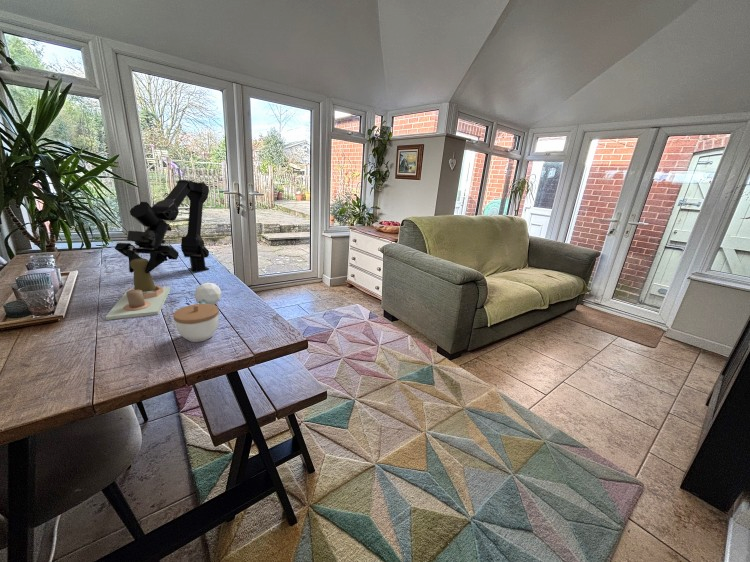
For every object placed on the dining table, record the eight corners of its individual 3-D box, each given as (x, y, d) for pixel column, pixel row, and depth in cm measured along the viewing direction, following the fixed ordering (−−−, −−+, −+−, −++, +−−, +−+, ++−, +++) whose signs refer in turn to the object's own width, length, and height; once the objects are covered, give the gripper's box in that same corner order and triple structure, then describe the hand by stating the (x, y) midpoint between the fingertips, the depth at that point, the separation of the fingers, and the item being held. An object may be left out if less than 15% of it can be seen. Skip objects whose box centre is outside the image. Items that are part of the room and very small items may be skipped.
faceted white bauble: (227, 289, 108) (223, 307, 98) (209, 302, 108) (202, 321, 98) (211, 274, 104) (204, 290, 93) (191, 287, 104) (182, 305, 94)
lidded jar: (227, 338, 84) (223, 307, 81) (183, 351, 77) (177, 318, 74) (214, 323, 91) (210, 295, 88) (173, 334, 84) (167, 304, 81)
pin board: (128, 292, 109) (124, 276, 107) (170, 289, 114) (168, 274, 112) (106, 319, 89) (101, 301, 87) (158, 314, 95) (155, 296, 93)
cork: (131, 292, 102) (123, 261, 99) (139, 286, 108) (132, 256, 104) (151, 291, 104) (145, 261, 100) (158, 285, 109) (152, 256, 106)
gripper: (112, 219, 102) (91, 259, 95) (167, 222, 102) (150, 262, 95) (135, 237, 112) (117, 274, 105) (185, 240, 112) (171, 278, 105)
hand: (138, 272), depth 102 cm, fingers closed on cork, 5 cm apart
